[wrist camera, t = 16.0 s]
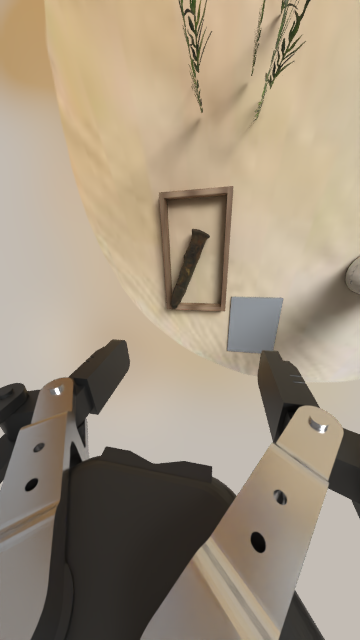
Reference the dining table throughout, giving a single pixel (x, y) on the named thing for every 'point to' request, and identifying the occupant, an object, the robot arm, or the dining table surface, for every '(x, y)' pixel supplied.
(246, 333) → the mat
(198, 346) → the dining table surface
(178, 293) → the hand tool
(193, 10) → the wildflower
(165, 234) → the wooden frame
